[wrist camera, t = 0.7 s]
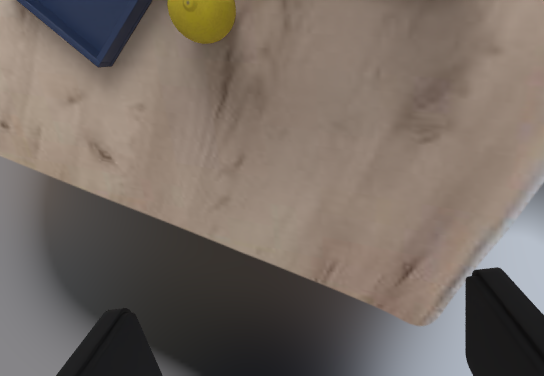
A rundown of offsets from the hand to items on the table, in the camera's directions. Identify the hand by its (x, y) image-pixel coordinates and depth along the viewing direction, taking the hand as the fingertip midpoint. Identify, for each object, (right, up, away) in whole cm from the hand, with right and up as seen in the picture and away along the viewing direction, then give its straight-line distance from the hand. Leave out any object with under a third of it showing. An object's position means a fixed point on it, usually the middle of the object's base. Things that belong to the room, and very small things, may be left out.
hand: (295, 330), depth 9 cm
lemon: (-6, +21, +23) cm, 32 cm away
